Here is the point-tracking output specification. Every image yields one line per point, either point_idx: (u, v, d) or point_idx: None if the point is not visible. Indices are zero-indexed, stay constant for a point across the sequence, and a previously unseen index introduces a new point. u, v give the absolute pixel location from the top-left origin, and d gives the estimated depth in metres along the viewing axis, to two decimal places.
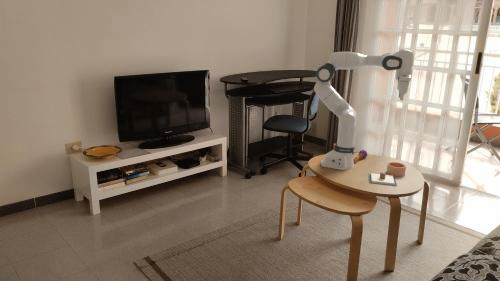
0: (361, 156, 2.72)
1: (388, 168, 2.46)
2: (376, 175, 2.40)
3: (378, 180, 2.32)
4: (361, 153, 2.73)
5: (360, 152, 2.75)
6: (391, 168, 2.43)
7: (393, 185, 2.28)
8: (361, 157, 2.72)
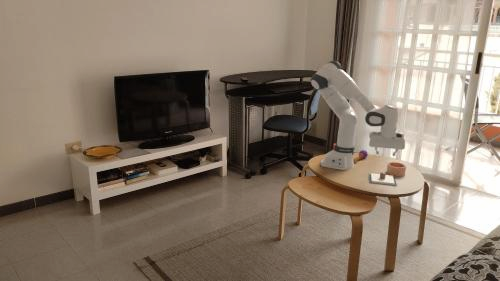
0: (361, 156, 2.72)
1: (388, 168, 2.46)
2: (376, 175, 2.40)
3: (378, 180, 2.32)
4: (361, 153, 2.73)
5: (360, 152, 2.75)
6: (391, 168, 2.43)
7: (393, 185, 2.28)
8: (361, 157, 2.72)
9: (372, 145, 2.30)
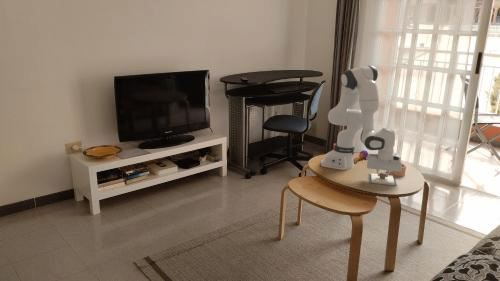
0: (362, 156, 2.71)
1: None
2: (376, 175, 2.40)
3: (378, 180, 2.32)
4: (362, 153, 2.72)
5: (361, 152, 2.74)
6: None
7: (393, 185, 2.28)
8: (362, 157, 2.72)
9: (369, 167, 2.34)
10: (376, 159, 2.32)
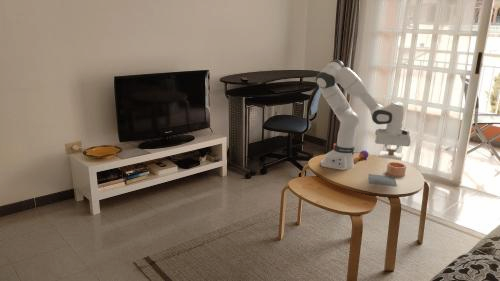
0: (361, 156, 2.71)
1: (388, 168, 2.46)
2: (385, 152, 2.40)
3: (385, 155, 2.33)
4: (362, 153, 2.72)
5: (361, 152, 2.74)
6: (391, 168, 2.43)
7: (393, 185, 2.28)
8: (362, 157, 2.71)
9: (378, 142, 2.35)
10: (384, 134, 2.32)
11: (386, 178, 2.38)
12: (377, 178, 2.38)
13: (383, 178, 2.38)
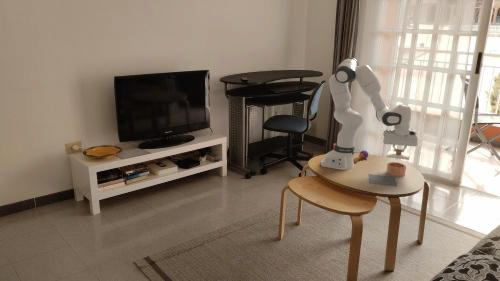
0: (361, 156, 2.71)
1: (388, 168, 2.46)
2: (393, 152, 2.48)
3: (393, 155, 2.40)
4: (362, 153, 2.72)
5: (361, 152, 2.74)
6: (391, 168, 2.43)
7: (393, 185, 2.28)
8: (361, 157, 2.71)
9: (386, 142, 2.42)
10: (392, 134, 2.40)
11: (386, 178, 2.38)
12: (377, 178, 2.38)
13: (383, 178, 2.38)
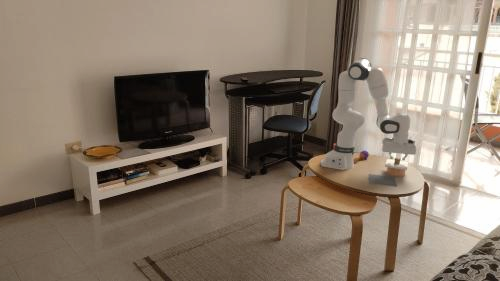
0: (362, 156, 2.71)
1: (388, 168, 2.46)
2: (391, 161, 2.50)
3: (392, 165, 2.42)
4: (362, 153, 2.72)
5: (361, 152, 2.74)
6: (391, 168, 2.43)
7: (393, 185, 2.28)
8: (362, 157, 2.71)
9: (385, 150, 2.44)
10: (391, 143, 2.41)
11: (386, 178, 2.38)
12: (377, 178, 2.38)
13: (383, 178, 2.38)
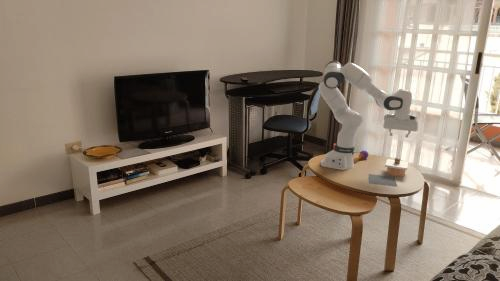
0: (361, 156, 2.71)
1: (388, 168, 2.46)
2: (391, 161, 2.50)
3: (392, 165, 2.42)
4: (361, 153, 2.72)
5: (361, 152, 2.74)
6: (391, 168, 2.43)
7: (393, 185, 2.28)
8: (361, 157, 2.71)
9: (386, 127, 2.43)
10: (393, 119, 2.40)
11: (386, 178, 2.38)
12: (377, 178, 2.38)
13: (383, 178, 2.38)
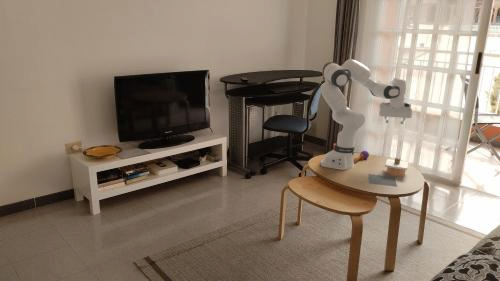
0: (362, 157, 2.71)
1: (388, 168, 2.46)
2: (391, 161, 2.50)
3: (392, 165, 2.42)
4: (362, 154, 2.72)
5: (361, 153, 2.74)
6: (391, 168, 2.43)
7: (393, 185, 2.28)
8: (362, 158, 2.71)
9: (382, 114, 2.55)
10: (388, 107, 2.52)
11: (386, 178, 2.38)
12: (377, 178, 2.38)
13: (383, 178, 2.38)
